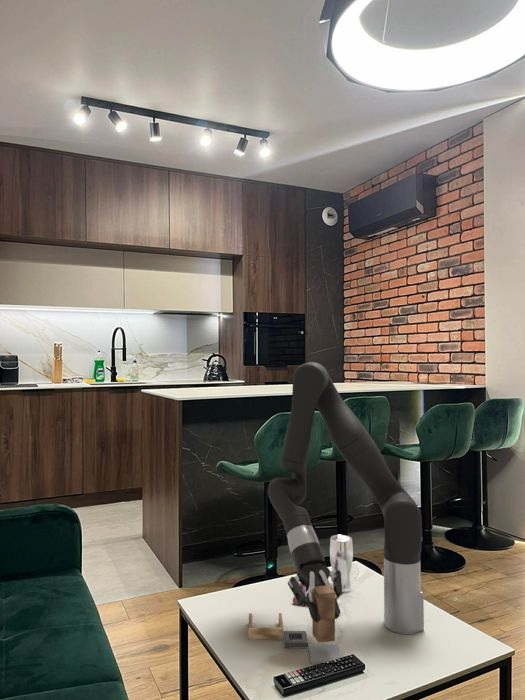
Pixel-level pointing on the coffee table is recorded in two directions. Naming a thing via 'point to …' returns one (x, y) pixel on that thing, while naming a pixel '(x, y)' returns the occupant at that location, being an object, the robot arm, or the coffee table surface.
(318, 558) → the robot arm
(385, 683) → the coffee table surface
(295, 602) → the video game controller
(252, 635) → the wooden u-shaped bracket
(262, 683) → the coffee table surface
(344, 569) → the beer glass
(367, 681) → the coffee table surface
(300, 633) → the grey square frame
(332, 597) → the walnut block
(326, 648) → the grey pad
